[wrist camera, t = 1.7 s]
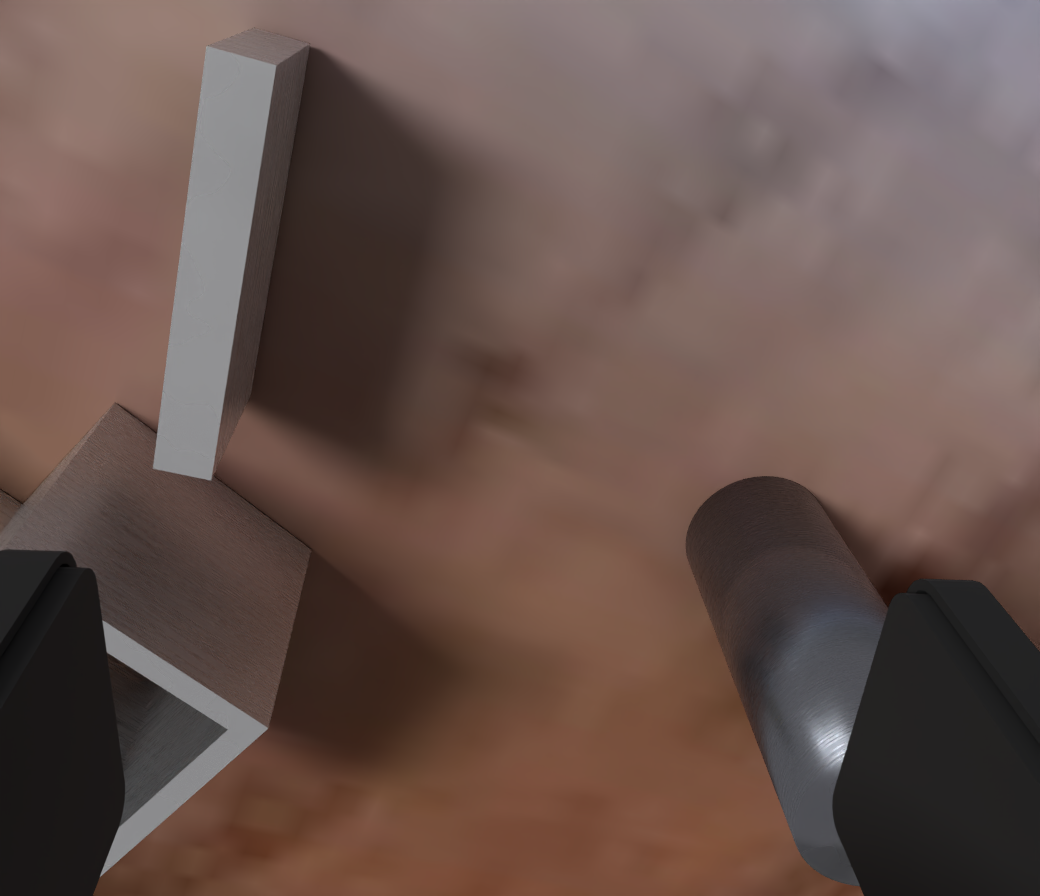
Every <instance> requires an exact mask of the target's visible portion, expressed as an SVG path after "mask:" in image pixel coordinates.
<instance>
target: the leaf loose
mask: <svg viewBox="0 0 1040 896" xmlns="http://www.w3.org/2000/svg"><path fill="white" fill-rule="evenodd" d="M309 49H310V43H307V42H303V41H300V40H296V39H293V38H289V37H286V36H282V35H279V34H275V33H272V32H268V31H265V30H261V29H257V28H252V29H249V30H247V31H244V32H241V33H239V34H236V35H234V36H231V37H229V38H226V39H223V40H221V41H218V42H216V43H213V44H211V45H208V46H206V54H205V62H204V70H203V78H202V86H201V94H200V101H199V109H198V117H197V125H196V133H195V141H194V149H193V157H192V164H191V172H190V180H189V188H188V196H187V204H186V212H185V220H184V227H183V235H182V243H181V251H180V259H179V267H178V275H177V283H176V290H175V298H174V306H173V314H172V322H171V330H170V338H169V346H168V353H167V361H166V369H165V377H164V385H163V393H162V401H161V409H160V416H159V424H158V432H157V440H156V448H155V456H154V464H153V469H157V470H162V471H167V472H172V473H177V474H181V475H186V476H191V477H196V478H201V479H206V480H212V478H213V476H214V473H215V471H216V469H217V467H218V465H219V463H220V460H221V458H222V456H223V454H224V452H225V450H226V447H227V445H228V443H229V441H230V439H231V437H232V434H233V432H234V430H235V428H236V426H237V424H238V421H239V419H240V417H241V415H242V413H243V411H244V408H245V406H246V404H247V402H248V400H249V398H250V395H251V391H252V385H253V379H254V373H255V367H256V361H257V355H258V349H259V344H260V338H261V332H262V326H263V320H264V314H265V308H266V302H267V296H268V290H269V285H270V279H271V273H272V267H273V261H274V255H275V249H276V243H277V237H278V231H279V226H280V220H281V214H282V208H283V202H284V196H285V190H286V184H287V178H288V172H289V167H290V161H291V155H292V149H293V143H294V137H295V131H296V125H297V119H298V113H299V108H300V102H301V96H302V90H303V84H304V78H305V72H306V66H307V60H308V54H309Z"/></svg>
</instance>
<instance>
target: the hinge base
mask: <svg viewBox="0 0 1040 896" xmlns="http://www.w3.org/2000/svg"><path fill="white" fill-rule="evenodd" d="M156 440H157V434H156V433H155V432H154V431H152V430H151V429H150V428H148V427H147V426H146V425H144V424H143V423H142V422H140V421H139V420H138V419H136V418H135V417H134V416H132V415H131V414H130V413H128V412H127V411H126V410H124V409H123V408H122V407H120V406H119V405H118V404H116V403H114V404H113V405H112V406H111V407H110V409H109V410H108V411H107V412H106V413H105V414H104V415H103V416H102V417H101V418H100V420H99V421H98V422H97V423H96V424H95V425H94V426H93V427H92V428H91V430H90V431H89V432H88V433H87V434H86V435H85V436H84V437H83V438H82V439H81V441H80V442H79V443H78V444H77V445H76V446H75V447H74V448H73V449H72V450H71V452H70V453H69V454H68V455H67V456H66V457H65V458H64V459H63V460H62V461H61V463H60V464H59V465H58V466H57V467H56V468H55V469H54V470H53V471H52V473H51V474H50V475H49V476H48V477H47V478H46V479H45V480H44V481H43V482H42V484H41V485H40V486H39V487H38V488H37V489H36V490H35V491H34V492H33V493H32V495H31V496H30V497H29V498H28V499H27V500H26V501H25V502H24V503H23V504H21V503H19V502H18V501H17V500H15V499H14V498H12V497H11V496H9V495H8V494H6V493H5V492H3V491H2V490H0V551H1V550H5V549H14V550H44V551H67V552H69V553H71V554H72V556H73V557H74V559H75V561H76V565H77V567H79V568H90V569H92V570H93V571H94V573H95V575H96V580H97V585H98V592H99V599H100V607H101V614H102V621H103V628H104V635H105V643H106V650H107V657H108V664H109V671H110V679H111V686H112V693H113V700H114V707H115V715H116V722H117V729H118V736H119V743H120V751H121V758H122V765H123V772H124V779H125V802H124V809H123V814H122V818H121V822H120V825H119V828H118V830H117V833H116V836H115V838H114V841H113V844H112V846H111V849H110V851H109V854H108V857H107V859H106V862H105V864H104V867H103V870H102V872H101V875H100V877H101V876H102V875H103V874H104V873H105V872H106V871H107V870H108V869H110V868H111V867H112V866H113V865H114V864H115V863H116V862H118V861H119V860H120V859H121V858H122V857H123V856H124V855H125V854H127V853H128V852H129V851H130V850H131V849H132V848H133V847H135V846H136V845H137V844H138V843H139V842H140V841H141V840H142V839H144V838H145V837H146V836H147V835H148V834H149V833H150V832H152V831H153V830H154V829H155V828H156V827H157V826H158V825H159V824H161V823H162V822H163V821H164V820H165V819H166V818H167V817H169V816H170V815H171V814H172V813H173V812H174V811H175V810H176V809H178V808H179V807H180V806H181V805H182V804H183V803H184V802H186V801H187V800H188V799H189V798H190V797H191V796H192V795H193V794H195V793H196V792H197V791H198V790H199V789H200V788H201V787H202V786H204V785H205V784H206V783H207V782H208V781H209V780H210V779H212V778H213V777H214V776H215V775H216V774H217V773H218V772H219V771H221V770H222V769H223V768H224V767H225V766H226V765H227V764H229V763H230V762H231V761H232V760H233V759H234V758H235V757H236V756H238V755H239V754H240V753H241V752H242V751H243V750H244V749H246V748H247V747H248V746H249V745H250V744H251V743H252V742H253V741H255V740H256V739H257V738H258V737H259V736H260V735H261V734H263V733H264V732H265V731H266V730H267V729H268V728H269V724H270V720H271V716H272V711H273V707H274V703H275V699H276V695H277V691H278V687H279V682H280V678H281V674H282V670H283V666H284V662H285V658H286V653H287V649H288V645H289V641H290V637H291V633H292V629H293V624H294V620H295V616H296V612H297V608H298V604H299V600H300V595H301V591H302V587H303V583H304V579H305V575H306V571H307V566H308V562H309V558H310V554H311V549H310V548H309V547H307V546H306V545H305V544H303V543H302V542H301V541H299V540H298V539H297V538H295V537H294V536H293V535H291V534H290V533H289V532H287V531H286V530H285V529H283V528H282V527H281V526H279V525H278V524H277V523H275V522H274V521H273V520H271V519H270V518H269V517H267V516H266V515H265V514H263V513H262V512H261V511H259V510H258V509H257V508H255V507H254V506H253V505H251V504H250V503H249V502H247V501H246V500H244V499H243V498H242V497H240V496H239V495H238V494H236V493H235V492H234V491H232V490H231V489H230V488H228V487H227V486H226V485H224V484H223V483H222V482H220V481H219V480H218V479H216V478H215V477H214V476H213V478H212V480H206V479H201V478H196V477H191V476H186V475H181V474H177V473H172V472H167V471H162V470H157V469H153V464H154V456H155V448H156Z"/></svg>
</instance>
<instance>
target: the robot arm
mask: <svg viewBox="0 0 1040 896" xmlns="http://www.w3.org/2000/svg"><path fill="white" fill-rule="evenodd" d="M124 802H125V779H124V772H123V765H122V758H121V751H120V743H119V736H118V729H117V722H116V715H115V707H114V700H113V693H112V686H111V679H110V671H109V664H108V657H107V650H106V643H105V635H104V628H103V621H102V614H101V607H100V599H99V592H98V585H97V580H96V575H95V573H94V571H93V570H92V569H90V568H79V567H77V565H76V561H75V559H74V557H73V556H72V554H71V553H69V552H67V551H44V550H14V549H5V550H1V551H0V896H93V893H94V891H95V888H96V885H97V883H98V880H99V877H100V875H101V872H102V870H103V867H104V864H105V862H106V859H107V857H108V854H109V851H110V849H111V846H112V844H113V841H114V838H115V836H116V833H117V830H118V828H119V825H120V822H121V818H122V814H123V809H124ZM832 811H833V819H834V824H835V828H836V831H837V834H838V836H839V838H840V841H841V843H842V845H843V848H844V850H845V852H846V855H847V857H848V859H849V862H850V864H851V866H852V869H853V871H854V873H855V876H856V878H857V880H858V883H859V885H860V887H861V890H862V892H863V894H864V896H1040V652H1039V651H1038V649H1037V648H1036V647H1035V646H1034V645H1033V643H1032V642H1031V641H1030V640H1029V638H1028V637H1027V636H1026V635H1025V634H1024V632H1023V631H1022V630H1021V629H1020V628H1019V626H1018V625H1017V624H1016V623H1015V622H1014V620H1013V619H1012V618H1011V617H1010V616H1009V614H1008V613H1007V612H1006V611H1005V609H1004V608H1003V607H1002V606H1001V605H1000V603H999V602H998V601H997V600H996V599H995V597H994V596H993V595H992V594H991V593H990V591H989V590H988V589H987V588H986V587H985V586H984V585H983V584H981V583H980V582H977V581H973V580H942V579H919V580H916V581H914V582H913V583H912V584H911V586H910V587H909V588H908V591H907V593H899V594H896V595H895V596H894V598H893V599H892V600H891V603H890V605H889V608H888V611H887V615H886V618H885V621H884V625H883V628H882V631H881V635H880V638H879V641H878V645H877V648H876V651H875V655H874V658H873V661H872V665H871V668H870V671H869V675H868V678H867V682H866V685H865V688H864V692H863V695H862V698H861V702H860V705H859V708H858V712H857V715H856V718H855V722H854V725H853V728H852V732H851V735H850V738H849V742H848V745H847V749H846V752H845V755H844V759H843V762H842V765H841V769H840V772H839V775H838V779H837V782H836V785H835V789H834V793H833V799H832Z"/></svg>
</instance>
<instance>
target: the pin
mask: <svg viewBox="0 0 1040 896" xmlns="http://www.w3.org/2000/svg"><path fill="white" fill-rule="evenodd" d="M686 553H687V558H688V561H689V564H690V567H691V570H692V572H693V575H694V577H695V580H696V583H697V585H698V588H699V591H700V593H701V596H702V598H703V601H704V604H705V606H706V609H707V612H708V614H709V617H710V620H711V622H712V625H713V627H714V630H715V633H716V635H717V638H718V641H719V643H720V646H721V648H722V651H723V654H724V656H725V659H726V662H727V664H728V667H729V670H730V672H731V675H732V677H733V680H734V683H735V685H736V688H737V691H738V693H739V696H740V698H741V701H742V704H743V706H744V709H745V712H746V714H747V717H748V720H749V722H750V725H751V727H752V730H753V733H754V735H755V738H756V741H757V743H758V746H759V748H760V751H761V754H762V756H763V759H764V762H765V764H766V767H767V770H768V772H769V775H770V777H771V780H772V783H773V785H774V788H775V791H776V793H777V796H778V798H779V801H780V804H781V806H782V809H783V812H784V814H785V817H786V819H787V822H788V825H789V827H790V830H791V833H792V835H793V838H794V841H795V843H796V846H797V848H798V850H799V852H800V854H801V856H802V857H803V858H804V860H805V861H806V862H807V863H808V864H809V865H810V866H811V867H812V868H813V869H814V870H816V871H817V872H819V873H820V874H822V875H824V876H826V877H828V878H830V879H832V880H835V881H838V882H841V883H845V884H850V885H855V886H860V885H859V883H858V880H857V878H856V876H855V873H854V871H853V869H852V866H851V864H850V862H849V859H848V857H847V855H846V852H845V850H844V848H843V845H842V843H841V841H840V838H839V836H838V834H837V831H836V828H835V824H834V819H833V811H832V799H833V793H834V789H835V785H836V782H837V779H838V775H839V772H840V769H841V765H842V762H843V759H844V755H845V752H846V749H847V745H848V742H849V738H850V735H851V732H852V728H853V725H854V722H855V718H856V715H857V712H858V708H859V705H860V702H861V698H862V695H863V692H864V688H865V685H866V682H867V678H868V675H869V671H870V668H871V665H872V661H873V658H874V655H875V651H876V648H877V645H878V641H879V638H880V635H881V631H882V628H883V625H884V621H885V618H886V615H887V611H888V607H887V606H886V604H885V603H884V601H883V600H882V598H881V596H880V595H879V593H878V592H877V590H876V589H875V587H874V586H873V584H872V583H871V581H870V580H869V578H868V577H867V575H866V574H865V572H864V571H863V569H862V568H861V566H860V564H859V563H858V561H857V560H856V558H855V557H854V555H853V554H852V552H851V551H850V549H849V548H848V546H847V545H846V543H845V542H844V540H843V539H842V537H841V536H840V534H839V532H838V531H837V529H836V528H835V526H834V525H833V523H832V522H831V520H830V519H829V517H828V516H827V514H826V513H825V511H824V510H823V508H822V507H821V505H820V504H819V502H818V500H817V499H816V498H815V497H814V496H813V494H812V493H810V492H809V491H808V490H807V489H806V488H804V487H803V486H801V485H800V484H798V483H795V482H793V481H791V480H787V479H784V478H779V477H770V476H762V477H752V478H747V479H743V480H740V481H737V482H734V483H732V484H730V485H728V486H726V487H724V488H722V489H721V490H719V491H717V492H716V493H715V494H713V495H712V496H711V497H710V498H709V499H708V500H706V501H705V502H704V503H703V505H702V506H701V507H700V508H699V509H698V511H697V512H696V514H695V515H694V517H693V519H692V521H691V523H690V526H689V529H688V532H687V537H686Z"/></svg>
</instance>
